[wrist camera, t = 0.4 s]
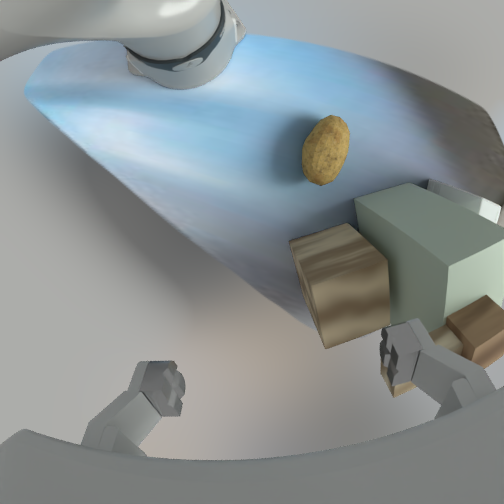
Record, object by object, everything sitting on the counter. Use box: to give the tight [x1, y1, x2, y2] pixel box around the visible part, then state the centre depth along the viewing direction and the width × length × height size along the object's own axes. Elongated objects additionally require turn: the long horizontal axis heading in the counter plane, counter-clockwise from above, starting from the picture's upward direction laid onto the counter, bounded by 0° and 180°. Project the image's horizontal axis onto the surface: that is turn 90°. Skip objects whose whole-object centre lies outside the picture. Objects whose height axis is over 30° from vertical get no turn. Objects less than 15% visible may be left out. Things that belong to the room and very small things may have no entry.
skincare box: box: [427, 179, 501, 224], centre depth 42 cm, size 8×7×16 cm
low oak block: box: [289, 223, 390, 349], centre depth 46 cm, size 12×11×15 cm
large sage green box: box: [354, 183, 504, 333], centre depth 40 cm, size 20×12×26 cm, turn 17°
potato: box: [302, 115, 350, 186], centre depth 41 cm, size 7×11×6 cm, turn 157°
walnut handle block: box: [381, 295, 504, 397], centre depth 26 cm, size 6×16×6 cm, turn 107°
